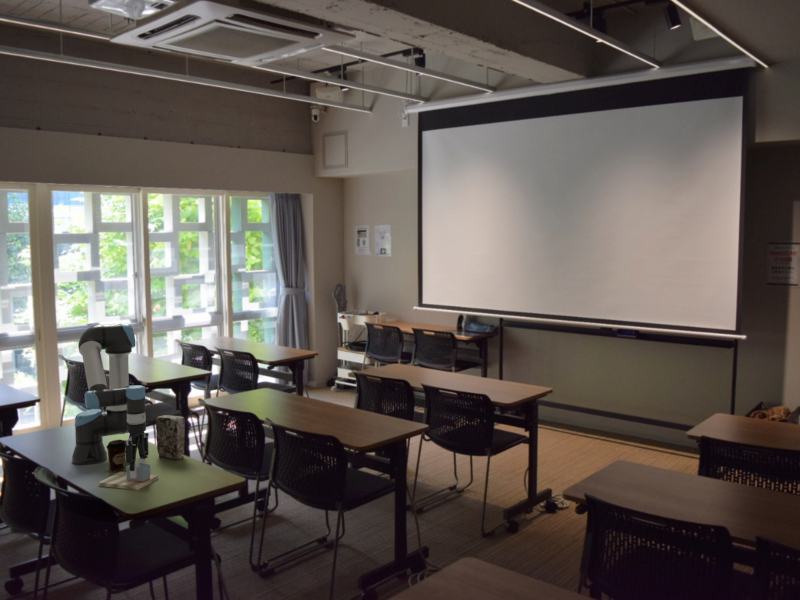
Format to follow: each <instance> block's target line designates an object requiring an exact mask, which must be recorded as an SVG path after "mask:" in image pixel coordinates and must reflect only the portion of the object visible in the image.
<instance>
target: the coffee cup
mask: <svg viewBox="0 0 800 600" xmlns="http://www.w3.org/2000/svg"><path fill="white" fill-rule="evenodd" d="M124 442H125V440H124V439H115V440H111V441H109V442H108V443H107V445H106V448H105V449H106V451H107V460H108V464H109V465H108V467H109V471H110V472H122V471H123V470H125V469H126V468H125V463H126V448H125V443H124Z"/></svg>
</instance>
